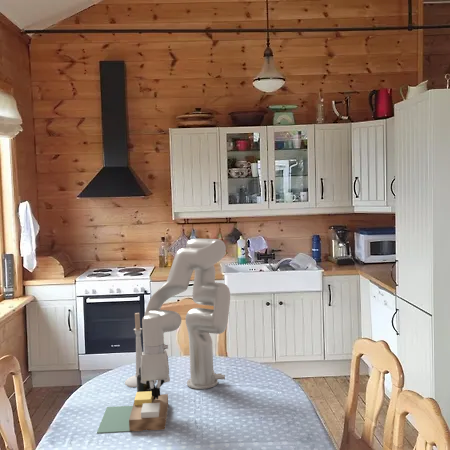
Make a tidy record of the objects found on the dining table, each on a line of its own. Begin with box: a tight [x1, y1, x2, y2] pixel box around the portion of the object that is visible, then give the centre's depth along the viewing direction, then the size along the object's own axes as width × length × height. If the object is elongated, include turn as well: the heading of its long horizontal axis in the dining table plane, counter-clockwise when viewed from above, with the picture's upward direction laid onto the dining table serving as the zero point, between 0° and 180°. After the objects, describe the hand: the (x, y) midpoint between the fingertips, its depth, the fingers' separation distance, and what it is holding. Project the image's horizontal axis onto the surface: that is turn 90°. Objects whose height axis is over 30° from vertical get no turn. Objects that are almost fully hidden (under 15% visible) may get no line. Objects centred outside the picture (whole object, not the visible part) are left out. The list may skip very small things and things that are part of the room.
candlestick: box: [124, 312, 157, 388], centre depth 245 cm, size 13×13×30 cm
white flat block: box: [141, 403, 160, 418], centre depth 203 cm, size 6×8×2 cm
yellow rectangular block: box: [133, 391, 153, 405], centre depth 215 cm, size 6×8×2 cm
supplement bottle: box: [136, 367, 154, 393], centre depth 228 cm, size 7×7×12 cm
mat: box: [96, 405, 133, 434], centre depth 209 cm, size 12×22×1 cm, turn 2°
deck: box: [129, 393, 169, 432], centre depth 209 cm, size 12×22×4 cm, turn 2°
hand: (156, 397), depth 215 cm, fingers closed
